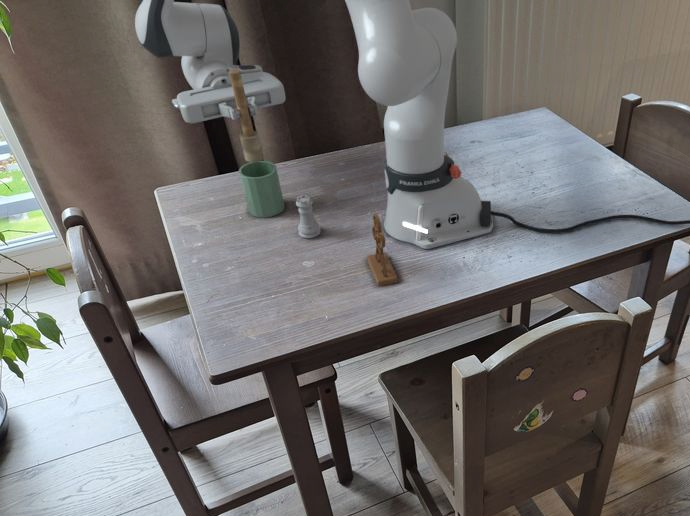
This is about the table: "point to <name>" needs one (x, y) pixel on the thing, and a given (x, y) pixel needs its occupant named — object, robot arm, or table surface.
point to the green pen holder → (262, 188)
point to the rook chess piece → (307, 218)
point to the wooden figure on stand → (380, 258)
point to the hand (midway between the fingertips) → (245, 113)
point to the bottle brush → (245, 121)
